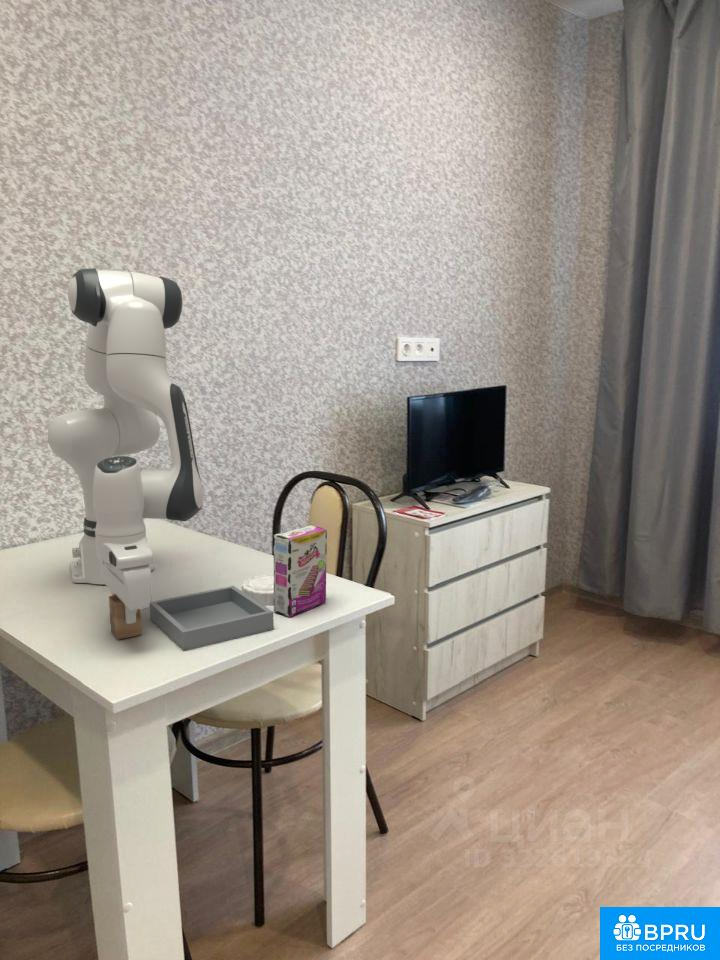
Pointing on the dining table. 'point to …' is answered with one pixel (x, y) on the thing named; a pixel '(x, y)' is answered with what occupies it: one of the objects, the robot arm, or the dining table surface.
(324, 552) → the candy bar box
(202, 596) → the tray
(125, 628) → the walnut block
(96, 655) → the dining table surface
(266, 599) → the mooncake
